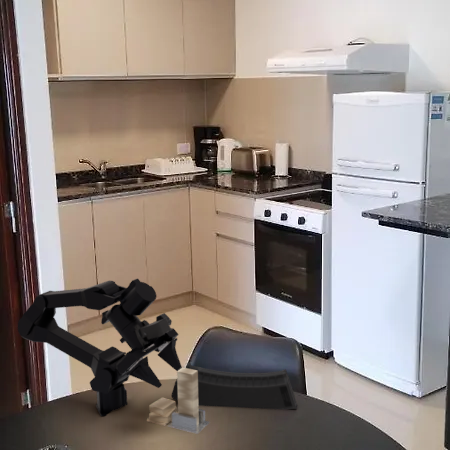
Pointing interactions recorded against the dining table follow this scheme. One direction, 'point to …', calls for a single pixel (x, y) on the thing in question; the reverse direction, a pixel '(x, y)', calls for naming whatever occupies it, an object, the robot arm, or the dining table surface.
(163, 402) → the offcut stack
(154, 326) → the robot arm
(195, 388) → the beige rectangular block
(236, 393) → the black curved panel
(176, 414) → the rack
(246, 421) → the dining table surface
